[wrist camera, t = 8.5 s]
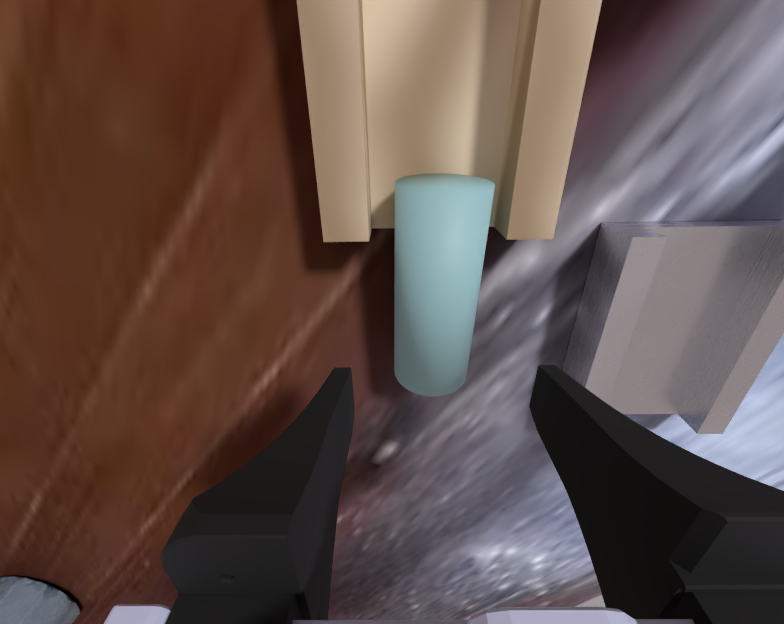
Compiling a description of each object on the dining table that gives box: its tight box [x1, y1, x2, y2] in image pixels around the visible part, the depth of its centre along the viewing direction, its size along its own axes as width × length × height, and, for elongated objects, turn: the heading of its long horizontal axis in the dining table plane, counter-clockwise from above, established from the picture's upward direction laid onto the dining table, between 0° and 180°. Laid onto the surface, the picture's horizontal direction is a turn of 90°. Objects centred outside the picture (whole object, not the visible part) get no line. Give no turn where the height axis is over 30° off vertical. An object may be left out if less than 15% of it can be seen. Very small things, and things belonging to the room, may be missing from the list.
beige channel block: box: [297, 0, 602, 242], centre depth 14 cm, size 10×12×3 cm
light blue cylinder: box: [394, 173, 495, 397], centre depth 17 cm, size 10×4×4 cm, turn 0°
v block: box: [562, 220, 784, 434], centre depth 19 cm, size 9×12×3 cm
